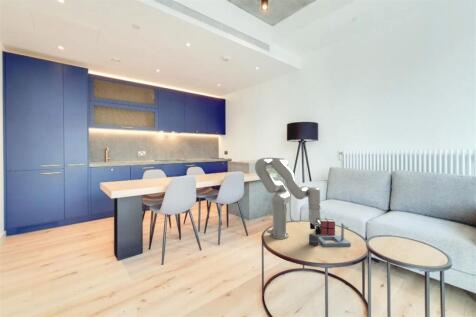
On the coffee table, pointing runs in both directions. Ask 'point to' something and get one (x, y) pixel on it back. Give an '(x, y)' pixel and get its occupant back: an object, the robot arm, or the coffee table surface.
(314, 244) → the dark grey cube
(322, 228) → the puzzle cube
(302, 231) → the coffee table surface
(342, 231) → the grey frame with post
